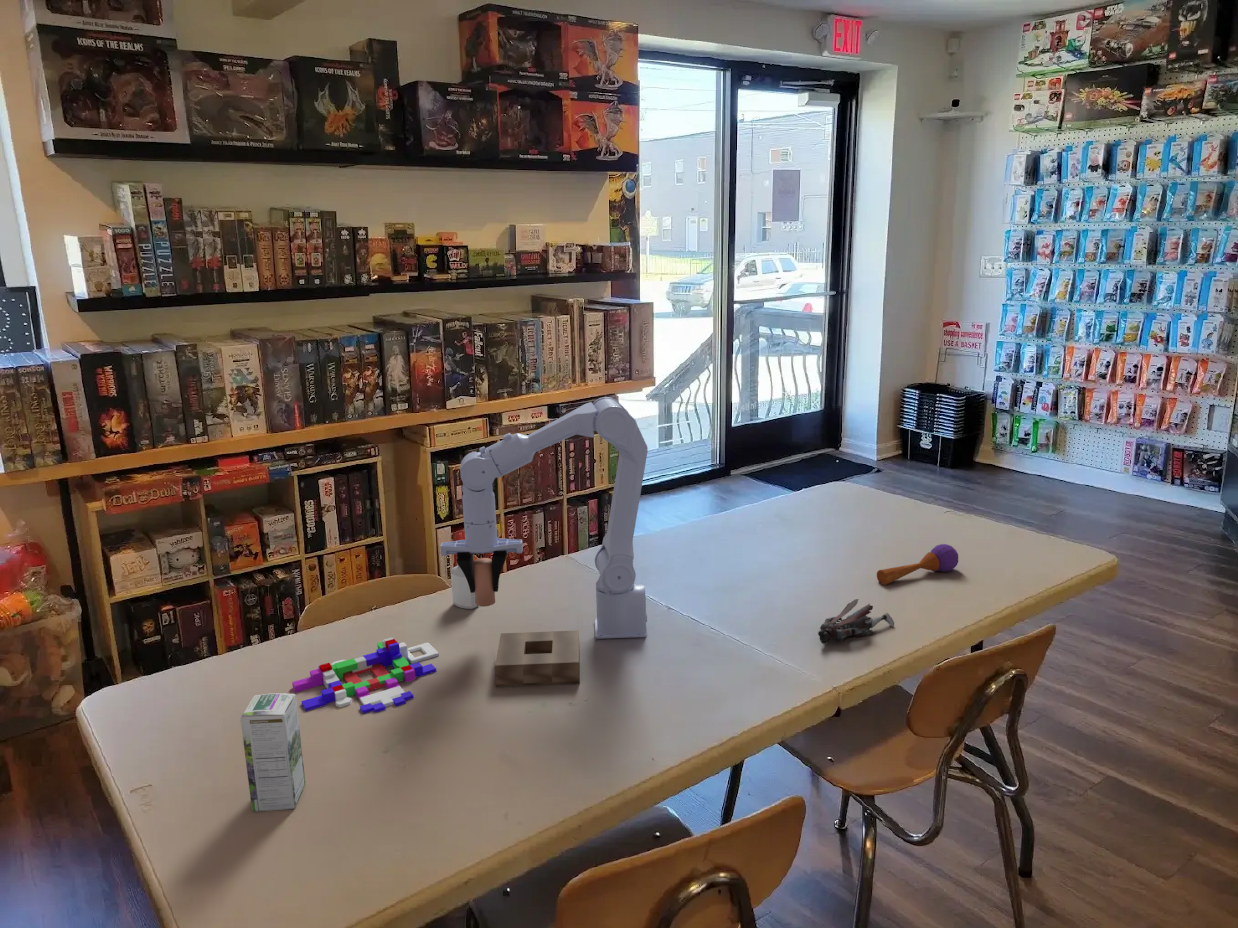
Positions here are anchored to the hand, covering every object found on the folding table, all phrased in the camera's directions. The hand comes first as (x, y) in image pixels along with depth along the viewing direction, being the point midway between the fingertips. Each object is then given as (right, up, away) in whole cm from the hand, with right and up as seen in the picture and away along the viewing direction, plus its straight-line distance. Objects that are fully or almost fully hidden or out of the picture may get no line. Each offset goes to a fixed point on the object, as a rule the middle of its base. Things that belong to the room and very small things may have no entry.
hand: (484, 590), depth 165 cm
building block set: (-17, -15, -10) cm, 25 cm away
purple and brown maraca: (+89, -1, +29) cm, 94 cm away
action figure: (+67, -9, +3) cm, 68 cm away
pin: (0, -2, +1) cm, 2 cm away
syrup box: (-22, -23, -42) cm, 52 cm away
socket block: (+11, -13, -7) cm, 18 cm away
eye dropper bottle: (-7, -6, +19) cm, 21 cm away
